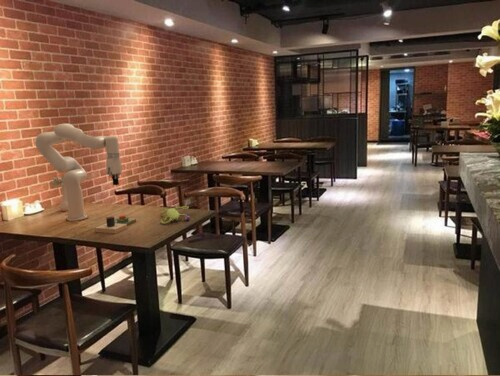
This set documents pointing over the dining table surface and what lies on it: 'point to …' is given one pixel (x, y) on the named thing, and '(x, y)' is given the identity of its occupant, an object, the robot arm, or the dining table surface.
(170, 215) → the figurine
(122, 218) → the button
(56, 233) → the dining table surface
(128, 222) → the housing
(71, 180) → the robot arm
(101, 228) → the cream flat block
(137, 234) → the dining table surface
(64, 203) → the flower vase
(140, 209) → the dining table surface
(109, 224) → the knob
